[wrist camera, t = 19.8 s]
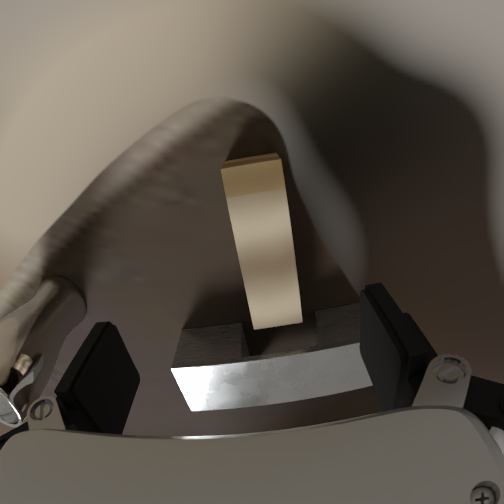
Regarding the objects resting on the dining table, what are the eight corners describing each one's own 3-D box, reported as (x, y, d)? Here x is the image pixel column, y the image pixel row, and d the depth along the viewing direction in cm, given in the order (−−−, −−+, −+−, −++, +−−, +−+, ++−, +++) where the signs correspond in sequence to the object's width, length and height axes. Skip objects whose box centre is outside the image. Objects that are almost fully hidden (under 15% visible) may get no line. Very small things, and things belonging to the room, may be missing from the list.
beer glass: (97, 328, 31) (38, 437, 17) (49, 325, 31) (-15, 417, 17) (79, 270, 28) (-6, 374, 14) (30, 271, 28) (-55, 357, 14)
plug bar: (296, 296, 29) (302, 322, 25) (253, 303, 29) (253, 329, 26) (276, 152, 24) (280, 159, 20) (225, 161, 24) (220, 169, 20)
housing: (371, 345, 32) (388, 381, 27) (198, 372, 33) (191, 411, 28) (374, 299, 29) (394, 334, 24) (181, 329, 30) (171, 368, 25)
